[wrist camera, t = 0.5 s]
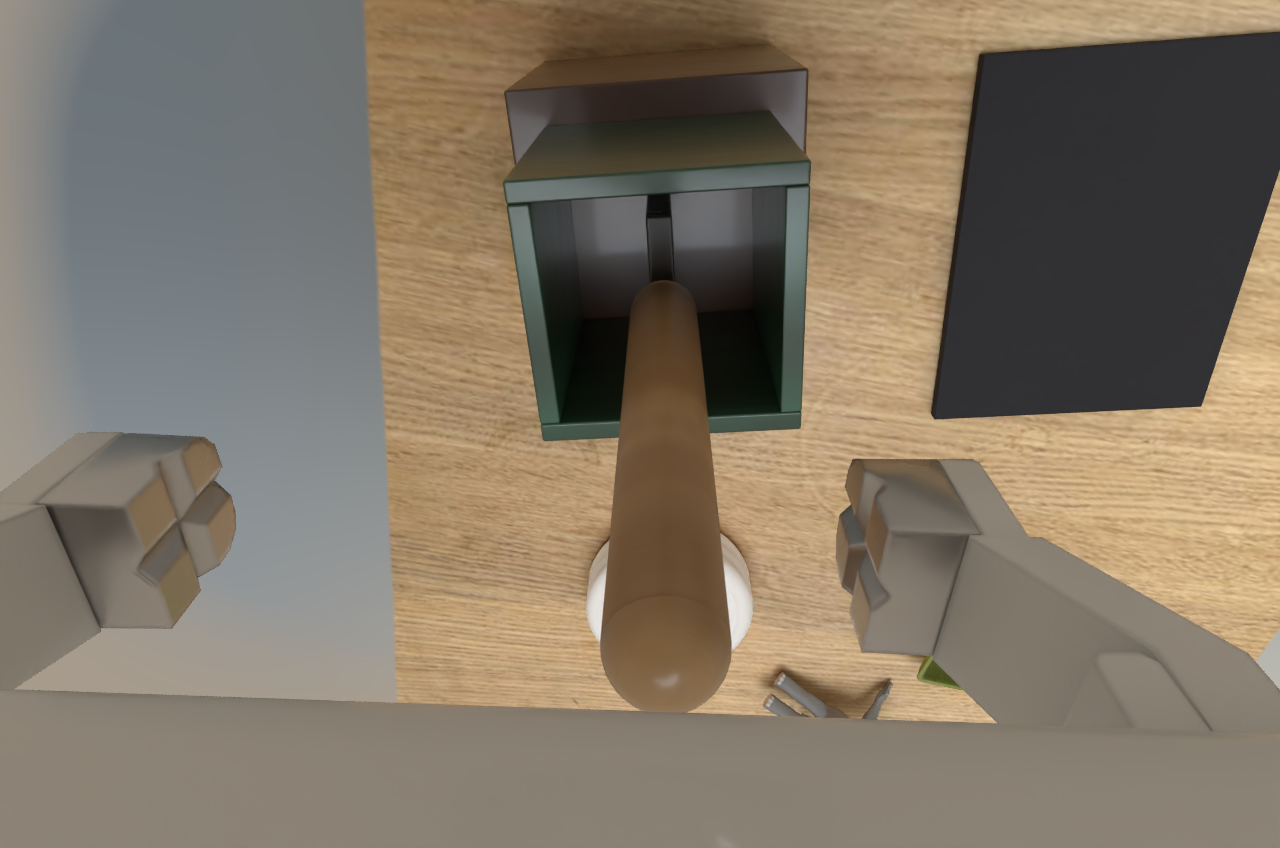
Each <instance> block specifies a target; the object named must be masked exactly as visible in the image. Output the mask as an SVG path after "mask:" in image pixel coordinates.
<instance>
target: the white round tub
mask: <svg viewBox="0 0 1280 848" xmlns="http://www.w3.org/2000/svg"><path fill="white" fill-rule="evenodd" d="M720 536H721V546H722V555H723V565H724V574H725V584H726V593H727V603H728V612H729V622H730V631H731V641H732V650H734V649H735V648H736V646H737V645H738V644H739V643H740V642H741V641H742V639H743V638H744V637H745V635H746V633H747V631H748V629H749V627H750V623H751V620H752V616H753V599H752V594H751V585H750V579H749V572H748V568H747V565H746V563H745V560H744V559H743V557H742V555H741V554H740V552H739V550H738V549H737V548H736V547H735V545H734V544H733V543H732V542H731V541H730V540H729V539H728V538H727V537H725V536H724V535H723V534H721V533H720ZM608 550H609V541H608V542H607V543H606V544H604V546H603V547H602V548H601V550H600V551H599V552H598V554H597V556H596V558H595V559H594V561H593V563H592V566H591V569H590V574H589V583H588V590H587V599H586V614H587V619H588V622H589V625H590V628H591V630H592V632H593V634H594V636H595V637H596V639H597V640H598V641H599V643H600V637H601V626H602V615H603V605H604V594H605V583H606V572H607V561H608Z"/></svg>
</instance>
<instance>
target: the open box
mask: <svg viewBox="0 0 1280 848" xmlns="http://www.w3.org/2000/svg"><path fill="white" fill-rule="evenodd" d="M504 94H505V101H506V108H507V115H508V122H509V128H510V135H511V142H512V149H513V156H514V163H515V167H514V168H513V169H512V171H511V172H510V173H509V174H508V176H507V177H506V178H505V180H504V181H503V187H504V193H505V199H506V203H507V204H508V205H507V212H508V219H509V225H510V232H511V238H512V244H513V251H514V257H515V264H516V270H517V277H518V283H519V289H520V296H521V302H522V309H523V315H524V322H525V328H526V334H527V341H528V347H529V354H530V360H531V367H532V373H533V379H534V386H535V392H536V399H537V405H538V412H539V418H540V422H541V431H542V437H543V440H544V441H558V440H578V439H599V438H619V431H620V420H621V409H622V398H623V387H624V376H625V365H626V354H627V344H628V333H629V322H630V311H631V306H632V303H633V300H634V298H635V296H636V295H637V293H638V292H639V291H640V290H641V289H642V288H643V287H645V286H646V285H648V284H650V278H649V263H648V248H647V233H646V205H647V195H660V194H671V204H672V224H673V244H674V264H675V283H678V284H680V285H681V286H683V287H684V288H686V289H687V290H688V292H689V293H690V294H691V296H692V297H693V299H694V302H695V304H696V308H697V318H698V327H699V337H700V346H701V356H702V365H703V375H704V384H705V394H706V403H707V413H708V422H709V432H710V433H724V432H744V431H765V430H786V429H800V427H801V410H802V386H803V360H804V333H805V307H806V281H807V255H808V229H809V203H810V185H809V184H810V174H811V161H810V160H809V158H808V157H807V156H806V128H807V99H808V69H807V68H806V67H804V66H803V65H801V64H800V63H798V62H796V61H795V60H793V59H792V58H790V57H789V56H787V55H786V54H784V53H782V52H781V51H779V50H778V49H776V48H775V47H773V46H771V45H756V46H743V47H730V48H717V49H703V50H690V51H677V52H664V53H651V54H637V55H624V56H611V57H598V58H585V59H572V60H558V61H545V62H543V63H542V64H541V65H539V66H538V67H537V68H535V69H534V70H533V71H531V72H530V73H529V74H527V75H526V76H525V77H523V78H522V79H520V80H519V81H518V82H516V83H515V84H514V85H512V86H511V87H510V88H508V89H507V90H506V91H505V93H504Z"/></svg>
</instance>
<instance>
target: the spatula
mask: <svg viewBox="0 0 1280 848" xmlns="http://www.w3.org/2000/svg"><path fill="white" fill-rule="evenodd" d="M646 233H647V248H648V263H649V278H650V284H648V285H646V286H645V287H643V288H642V289H641V290H640V291H639V292H638V293H637V295H636V296H635V298H634V300H633V303H632V306H631V311H630V322H629V333H628V344H627V354H626V365H625V376H624V387H623V398H622V409H621V420H620V431H619V441H618V452H617V463H616V474H615V485H614V496H613V507H612V518H611V528H610V539H609V550H608V561H607V572H606V583H605V594H604V605H603V615H602V626H601V637H600V650H601V660H602V664H603V667H604V670H605V673H606V676H607V678H608V680H609V681H610V683H611V685H612V686H613V688H614V689H615V691H616V692H617V693H618V694H619V695H620V696H621V697H622V698H623V699H625V700H626V701H627V702H628V703H630V704H631V705H632V706H634V707H636V708H638V709H640V710H642V711H648V712H677V713H685V712H688V711H691V710H693V709H696V708H697V707H699V706H700V705H702V704H703V703H705V702H706V701H707V700H708V699H709V698H711V697H712V696H713V695H714V694H715V692H716V691H717V690H718V688H719V687H720V685H721V684H722V682H723V681H724V679H725V676H726V674H727V672H728V668H729V665H730V661H731V652H732V641H731V631H730V622H729V612H728V603H727V593H726V584H725V574H724V565H723V555H722V546H721V536H720V527H719V517H718V508H717V498H716V489H715V479H714V470H713V460H712V451H711V441H710V432H709V422H708V413H707V403H706V394H705V384H704V375H703V365H702V356H701V346H700V337H699V327H698V318H697V308H696V304H695V302H694V299H693V297H692V296H691V294H690V293H689V292H688V290H687V289H686V288H684V287H683V286H681V285H680V284H678V283H675V264H674V244H673V224H672V204H671V194H660V195H647V205H646Z"/></svg>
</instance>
